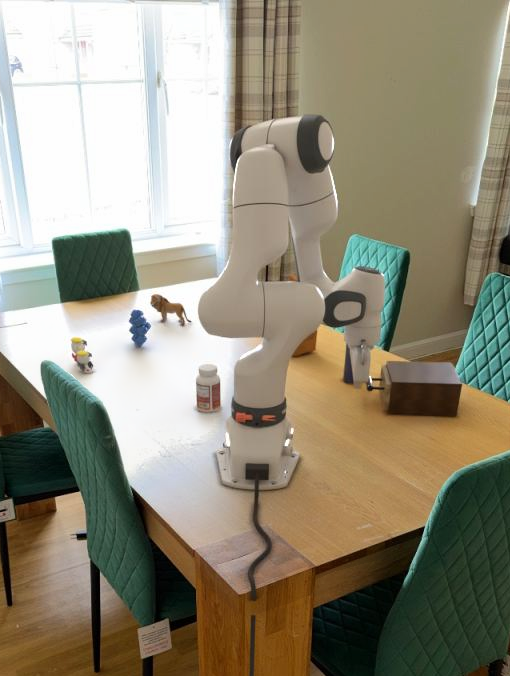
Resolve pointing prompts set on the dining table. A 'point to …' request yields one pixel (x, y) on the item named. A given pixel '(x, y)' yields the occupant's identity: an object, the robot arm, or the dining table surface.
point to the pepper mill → (348, 367)
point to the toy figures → (81, 354)
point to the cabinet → (423, 388)
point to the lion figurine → (167, 308)
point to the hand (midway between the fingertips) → (357, 386)
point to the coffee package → (310, 341)
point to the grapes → (138, 327)
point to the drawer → (382, 386)
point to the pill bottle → (208, 388)
